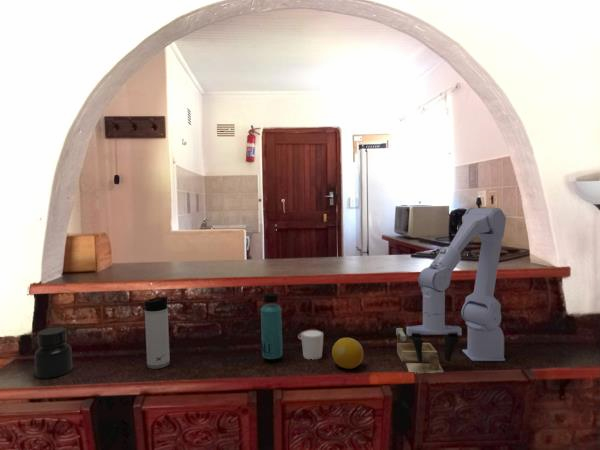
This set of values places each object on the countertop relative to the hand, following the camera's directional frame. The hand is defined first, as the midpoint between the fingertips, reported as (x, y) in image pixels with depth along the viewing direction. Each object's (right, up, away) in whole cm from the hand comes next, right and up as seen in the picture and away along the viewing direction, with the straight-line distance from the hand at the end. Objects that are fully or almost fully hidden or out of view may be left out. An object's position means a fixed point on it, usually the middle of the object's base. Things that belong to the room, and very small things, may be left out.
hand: (433, 360), depth 110 cm
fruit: (-23, -3, +3) cm, 24 cm away
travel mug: (-78, -4, +7) cm, 79 cm away
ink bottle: (-106, -5, +3) cm, 107 cm away
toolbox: (-2, -2, +9) cm, 9 cm away
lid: (-2, -3, +1) cm, 4 cm away
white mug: (-33, -3, +11) cm, 35 cm away
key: (-5, +2, +15) cm, 16 cm away
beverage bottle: (-45, -3, +9) cm, 46 cm away
